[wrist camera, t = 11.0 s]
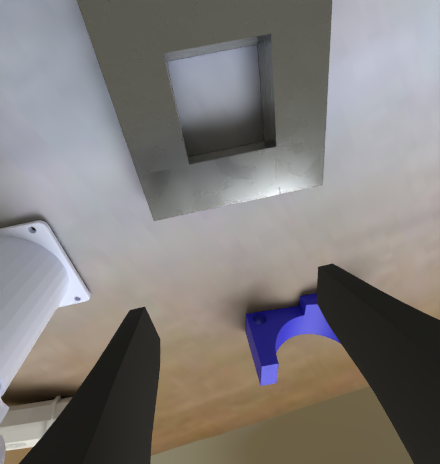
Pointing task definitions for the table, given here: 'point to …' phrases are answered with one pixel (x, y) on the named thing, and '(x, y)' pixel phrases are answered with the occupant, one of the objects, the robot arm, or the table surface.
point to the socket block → (164, 106)
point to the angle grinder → (30, 422)
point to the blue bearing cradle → (282, 333)
